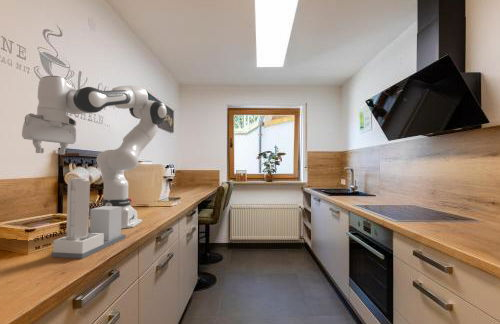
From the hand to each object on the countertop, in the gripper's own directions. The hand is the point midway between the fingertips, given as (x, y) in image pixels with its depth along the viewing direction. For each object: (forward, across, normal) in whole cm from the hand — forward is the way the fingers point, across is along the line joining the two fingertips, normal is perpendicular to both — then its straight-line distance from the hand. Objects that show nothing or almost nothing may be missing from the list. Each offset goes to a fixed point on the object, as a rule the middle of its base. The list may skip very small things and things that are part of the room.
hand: (50, 153), depth 97 cm
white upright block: (+34, -6, -17) cm, 38 cm away
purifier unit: (+35, +2, -17) cm, 39 cm away
